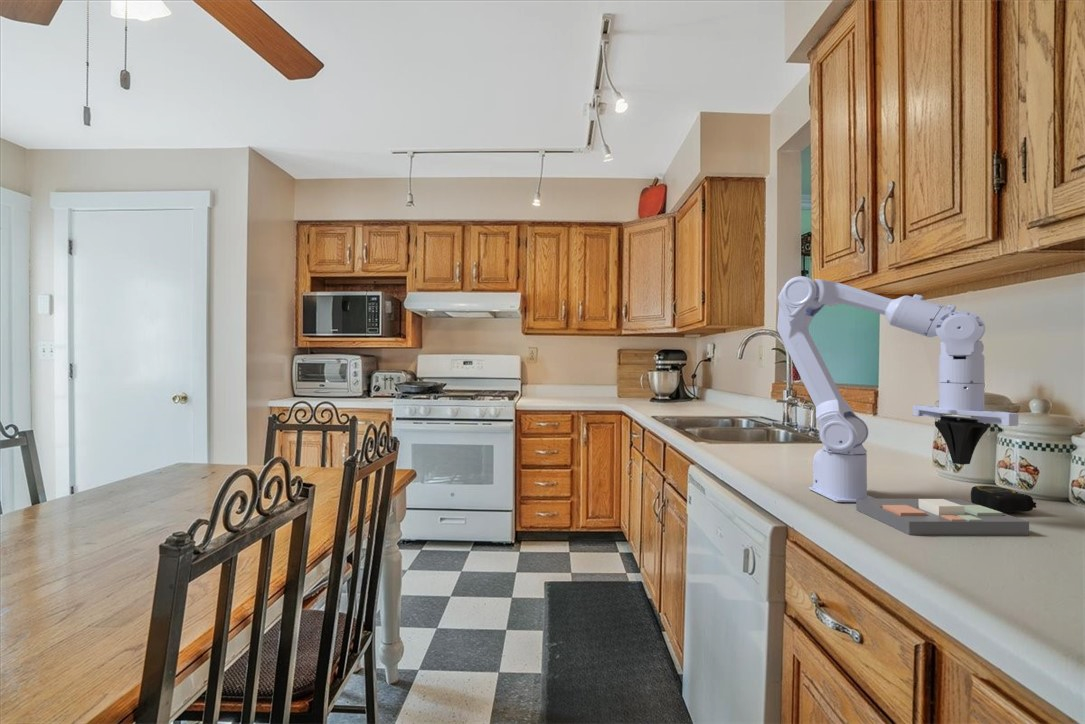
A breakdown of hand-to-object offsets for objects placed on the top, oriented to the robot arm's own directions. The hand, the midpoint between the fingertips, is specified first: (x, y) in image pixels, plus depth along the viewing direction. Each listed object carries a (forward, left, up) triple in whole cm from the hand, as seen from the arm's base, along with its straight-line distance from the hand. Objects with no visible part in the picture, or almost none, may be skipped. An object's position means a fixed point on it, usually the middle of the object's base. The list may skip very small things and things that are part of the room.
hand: (961, 463), depth 78 cm
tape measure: (-3, +10, -10) cm, 14 cm away
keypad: (+2, -6, -9) cm, 11 cm away
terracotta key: (+3, -12, -9) cm, 15 cm away
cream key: (+3, -6, -8) cm, 10 cm away
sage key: (+3, 0, -9) cm, 9 cm away
